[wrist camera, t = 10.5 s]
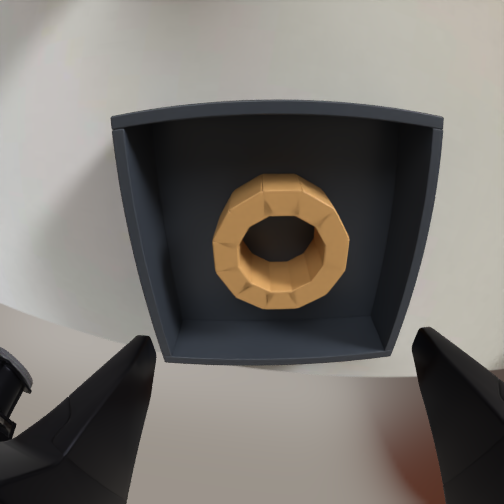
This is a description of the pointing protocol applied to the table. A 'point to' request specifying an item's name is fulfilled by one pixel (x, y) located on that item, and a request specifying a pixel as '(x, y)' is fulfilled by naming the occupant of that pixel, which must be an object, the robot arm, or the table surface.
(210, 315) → the tray
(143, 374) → the robot arm
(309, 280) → the tape
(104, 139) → the table surface
